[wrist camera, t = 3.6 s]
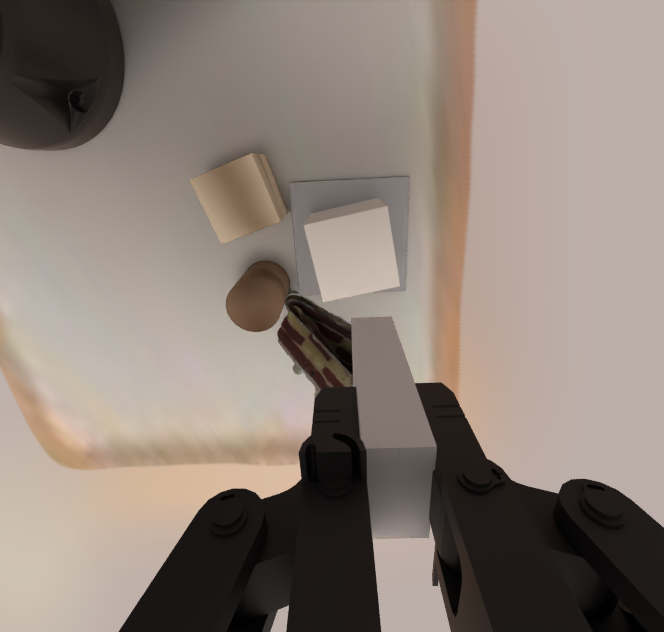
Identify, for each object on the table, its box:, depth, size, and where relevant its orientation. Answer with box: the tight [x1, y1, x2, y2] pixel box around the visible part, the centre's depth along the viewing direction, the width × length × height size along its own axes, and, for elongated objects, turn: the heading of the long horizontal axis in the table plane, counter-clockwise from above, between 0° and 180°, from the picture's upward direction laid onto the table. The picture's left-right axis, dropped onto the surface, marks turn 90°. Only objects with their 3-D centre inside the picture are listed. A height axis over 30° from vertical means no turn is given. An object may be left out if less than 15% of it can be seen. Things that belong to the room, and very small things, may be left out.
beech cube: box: [189, 153, 288, 245], centre depth 28 cm, size 5×5×5 cm
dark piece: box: [278, 290, 354, 397], centre depth 35 cm, size 10×7×12 cm
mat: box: [289, 176, 409, 295], centre depth 32 cm, size 10×10×1 cm
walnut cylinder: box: [226, 261, 290, 332], centre depth 31 cm, size 4×4×6 cm
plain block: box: [304, 198, 400, 302], centre depth 29 cm, size 6×6×6 cm
